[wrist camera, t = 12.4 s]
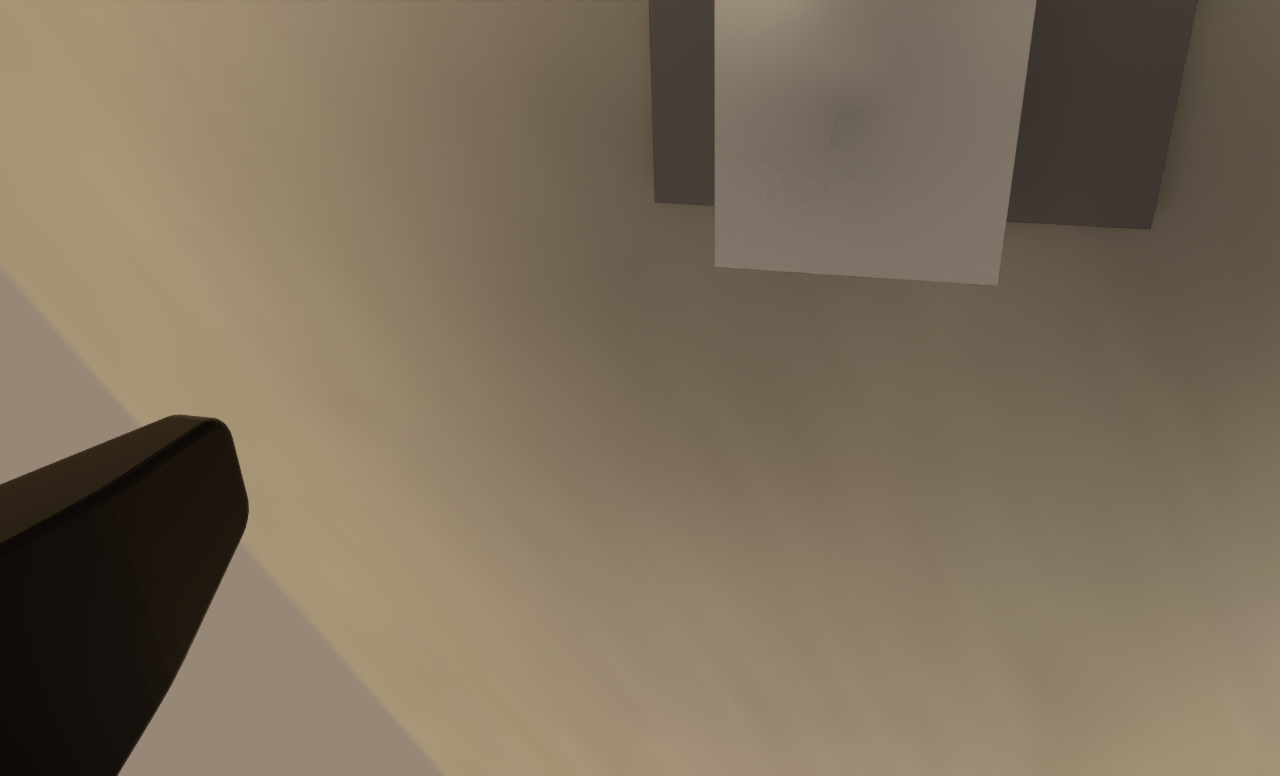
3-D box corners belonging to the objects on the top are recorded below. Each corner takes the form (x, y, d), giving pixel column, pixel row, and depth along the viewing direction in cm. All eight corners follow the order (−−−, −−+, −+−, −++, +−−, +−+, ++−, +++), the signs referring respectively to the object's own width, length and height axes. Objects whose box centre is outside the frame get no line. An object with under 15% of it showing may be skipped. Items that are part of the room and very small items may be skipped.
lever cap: (1027, -72, 17) (1039, -26, 14) (991, 203, 19) (997, 285, 17) (748, -75, 18) (714, -30, 15) (745, 190, 20) (714, 267, 17)
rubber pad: (1230, -196, 16) (1236, -193, 16) (1147, 219, 19) (1151, 229, 19) (649, -187, 18) (643, -184, 17) (659, 193, 21) (655, 201, 20)
